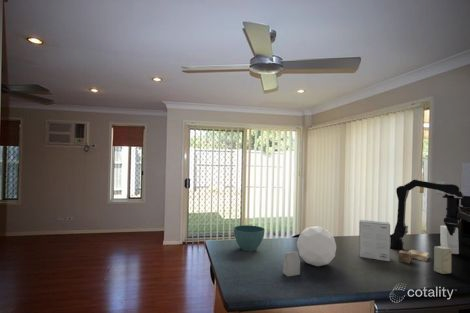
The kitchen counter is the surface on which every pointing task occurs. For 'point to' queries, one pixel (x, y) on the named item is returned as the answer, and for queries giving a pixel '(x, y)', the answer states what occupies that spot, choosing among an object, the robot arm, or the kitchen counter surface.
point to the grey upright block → (291, 264)
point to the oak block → (419, 255)
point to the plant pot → (248, 237)
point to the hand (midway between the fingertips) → (452, 234)
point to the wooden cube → (404, 256)
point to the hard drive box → (374, 240)
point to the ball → (316, 246)
